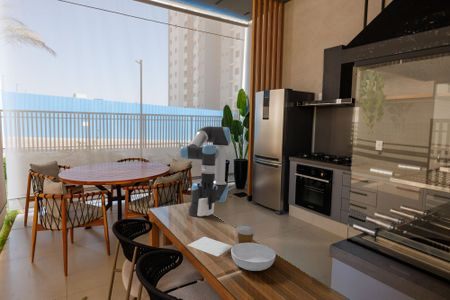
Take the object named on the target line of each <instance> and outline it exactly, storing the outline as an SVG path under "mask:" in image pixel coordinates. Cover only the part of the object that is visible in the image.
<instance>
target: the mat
mask: <svg viewBox="0 0 450 300" xmlns="http://www.w3.org/2000/svg"><path fill="white" fill-rule="evenodd" d="M187 246H188V247H190V248H194V249H196V250H199V251H202V252H205V253H207V254H209V255H212V256H215V257H217V258H219V257H221V256H222V255H224V254H225V253H226V254H227V252H229V251H231V249H232V247H233V246H234V245H231V244H228V243H225V242H222V241H219V240H215V239H213V238H210V237H206V236H202V237H201V238H199V239H197V240H195V241H193V242H190V243H189V244H187Z"/></svg>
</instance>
